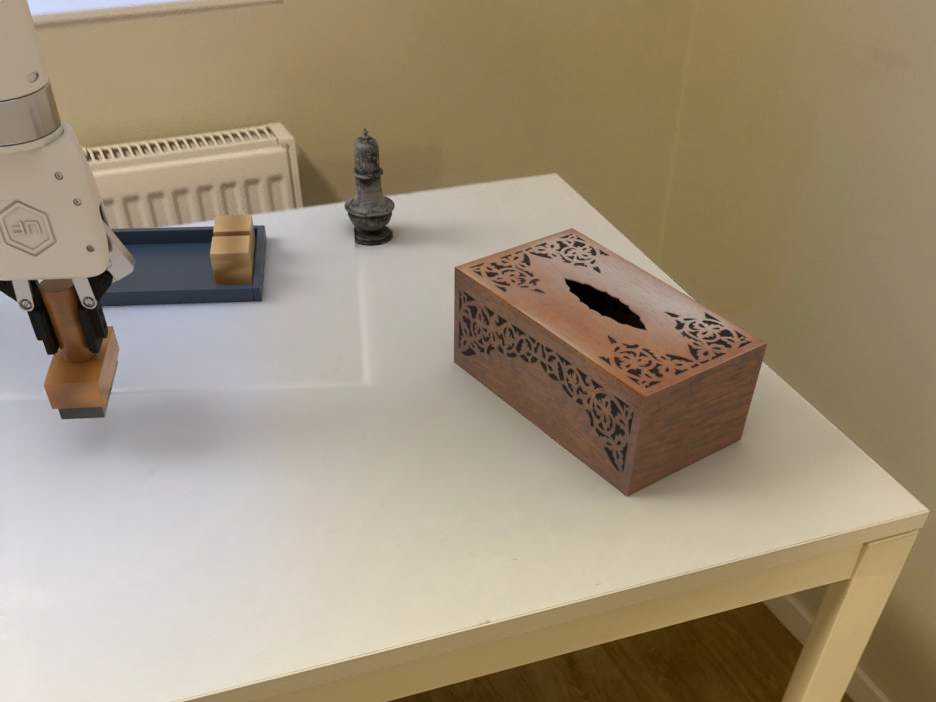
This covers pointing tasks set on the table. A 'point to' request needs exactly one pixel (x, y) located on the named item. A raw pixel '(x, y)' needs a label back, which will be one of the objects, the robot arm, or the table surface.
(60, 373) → the brush
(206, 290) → the tray
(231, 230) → the block
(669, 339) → the tissue box cover
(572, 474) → the table surface
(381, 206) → the salt shaker
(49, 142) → the robot arm
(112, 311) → the table surface
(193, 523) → the table surface
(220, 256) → the block
